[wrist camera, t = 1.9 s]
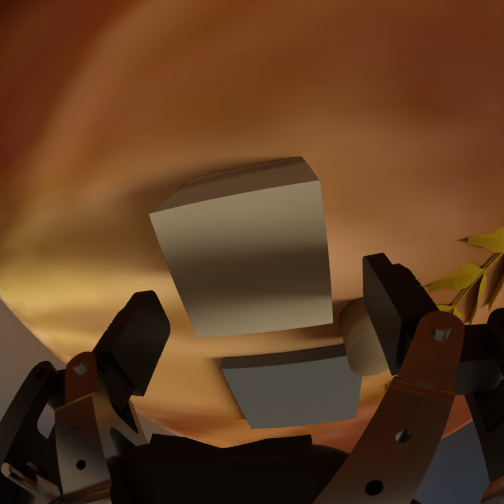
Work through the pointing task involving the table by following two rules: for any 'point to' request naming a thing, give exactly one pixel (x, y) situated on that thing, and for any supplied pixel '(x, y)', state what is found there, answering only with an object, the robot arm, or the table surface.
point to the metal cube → (249, 249)
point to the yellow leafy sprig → (471, 274)
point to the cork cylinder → (361, 340)
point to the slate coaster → (294, 387)
